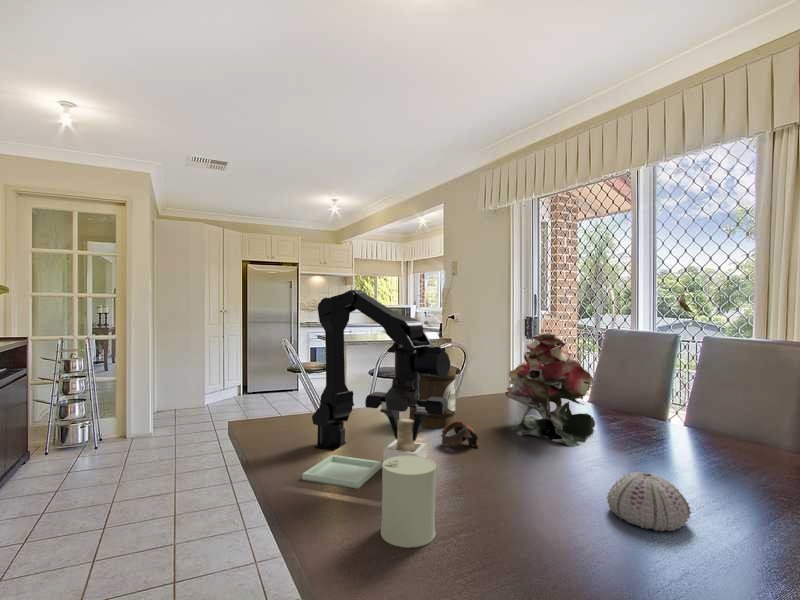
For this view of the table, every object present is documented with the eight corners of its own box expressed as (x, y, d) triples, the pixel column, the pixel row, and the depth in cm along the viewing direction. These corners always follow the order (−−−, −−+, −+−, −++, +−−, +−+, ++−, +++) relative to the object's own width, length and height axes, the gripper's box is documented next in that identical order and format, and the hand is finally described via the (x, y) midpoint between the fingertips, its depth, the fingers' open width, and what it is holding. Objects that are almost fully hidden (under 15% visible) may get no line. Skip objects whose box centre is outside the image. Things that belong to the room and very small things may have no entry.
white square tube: (383, 471, 103) (383, 449, 103) (395, 460, 110) (395, 439, 110) (416, 476, 100) (416, 454, 100) (426, 464, 107) (426, 443, 107)
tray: (302, 483, 95) (302, 473, 95) (331, 463, 107) (331, 454, 108) (358, 492, 91) (358, 482, 91) (381, 470, 103) (382, 461, 103)
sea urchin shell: (655, 544, 73) (655, 494, 73) (590, 508, 86) (590, 466, 86) (707, 528, 78) (708, 482, 79) (639, 497, 91) (639, 458, 91)
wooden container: (457, 429, 139) (458, 357, 139) (409, 428, 139) (410, 357, 139) (452, 417, 154) (453, 352, 154) (409, 416, 154) (410, 352, 154)
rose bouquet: (598, 425, 145) (599, 333, 146) (581, 449, 121) (582, 338, 121) (520, 414, 159) (521, 329, 159) (490, 433, 134) (491, 333, 135)
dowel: (394, 465, 104) (395, 422, 104) (400, 460, 108) (400, 418, 108) (410, 468, 102) (411, 424, 102) (416, 462, 106) (416, 419, 106)
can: (379, 520, 79) (380, 452, 80) (431, 519, 80) (431, 452, 80) (381, 549, 70) (382, 472, 70) (439, 547, 71) (441, 471, 71)
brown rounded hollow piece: (484, 456, 115) (470, 430, 114) (451, 470, 117) (437, 444, 115) (479, 432, 127) (466, 408, 125) (449, 444, 128) (436, 421, 127)
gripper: (355, 375, 101) (354, 444, 101) (436, 381, 94) (435, 455, 94) (375, 368, 111) (374, 431, 111) (448, 373, 105) (447, 440, 105)
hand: (405, 439), depth 105 cm, fingers closed on dowel, 4 cm apart
